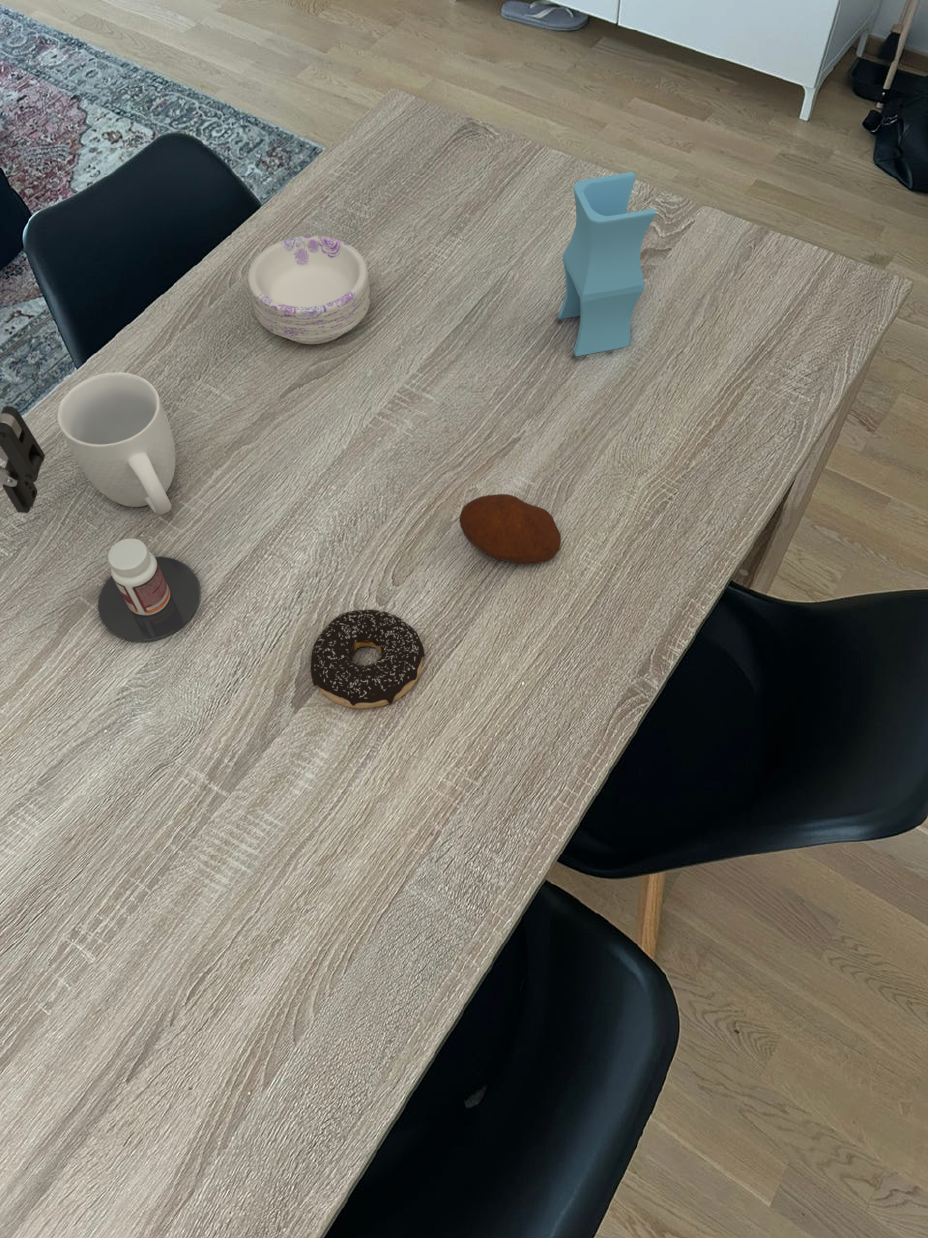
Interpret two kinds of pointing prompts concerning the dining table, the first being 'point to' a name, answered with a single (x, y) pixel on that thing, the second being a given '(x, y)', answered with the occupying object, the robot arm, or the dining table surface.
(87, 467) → the mug
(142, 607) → the pill bottle
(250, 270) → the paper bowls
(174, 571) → the coaster
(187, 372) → the dining table surface
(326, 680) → the donut
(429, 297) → the dining table surface
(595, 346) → the vase
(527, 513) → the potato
